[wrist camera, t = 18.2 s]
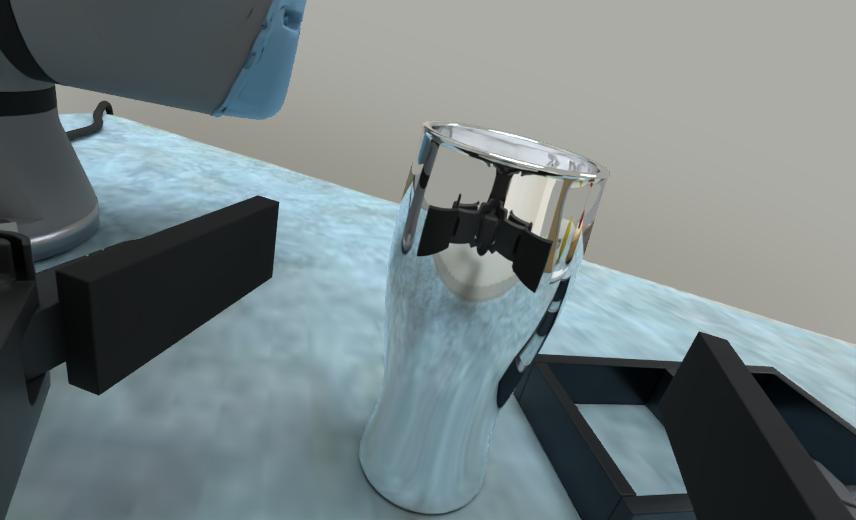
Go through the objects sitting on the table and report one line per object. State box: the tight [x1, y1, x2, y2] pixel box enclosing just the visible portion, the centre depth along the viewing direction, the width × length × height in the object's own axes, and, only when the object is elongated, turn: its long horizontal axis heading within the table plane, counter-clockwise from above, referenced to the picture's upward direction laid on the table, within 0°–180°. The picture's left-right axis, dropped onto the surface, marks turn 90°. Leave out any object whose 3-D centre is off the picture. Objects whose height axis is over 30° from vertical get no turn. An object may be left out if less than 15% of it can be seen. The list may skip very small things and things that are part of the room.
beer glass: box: [359, 121, 610, 514], centre depth 19 cm, size 7×7×15 cm
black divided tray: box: [514, 354, 856, 520], centre depth 25 cm, size 10×19×3 cm, turn 102°
